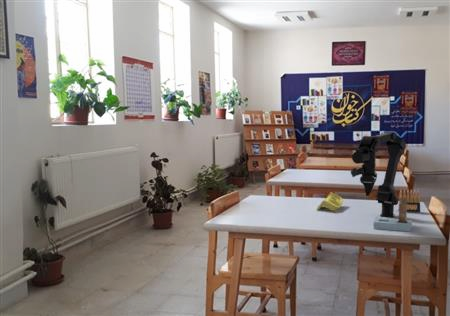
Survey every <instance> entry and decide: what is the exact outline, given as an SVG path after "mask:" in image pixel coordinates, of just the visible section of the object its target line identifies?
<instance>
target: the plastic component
mask: <svg viewBox="0 0 450 316" xmlns="http://www.w3.org/2000/svg"><path fill="white" fill-rule="evenodd" d="M343 202H344V199H343V197H342V196H340V195H338V194H336V193H334V192H332V191H331V192H329V194H327V196H326V197H325V198H324V200H322V201H321V202H320V204H319V205H318V206H317V208H316V211H320V209H321V208H322V207H324V208H325V209H328V210H330V211H331V212H334V213H336V212H338V211H339V209H340V208H341V206H342V204H343Z"/></svg>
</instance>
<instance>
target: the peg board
mask: <svg viewBox="0 0 450 316" xmlns="http://www.w3.org/2000/svg"><path fill="white" fill-rule="evenodd" d="M373 229H375V230H387V231H388V230H389V231H397V230H398V231H399V232H400V231H401V232H409V231H411V232H412V231H413V230H412V229H413V220H411V219H406V223H399V218H387V217H375V218H374V221H373ZM398 231H397V232H398Z"/></svg>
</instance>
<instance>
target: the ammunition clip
mask: <svg viewBox="0 0 450 316" xmlns="http://www.w3.org/2000/svg"><path fill="white" fill-rule="evenodd" d="M400 197H405V198H407V213H421V193H420V189H418V190H416V189H414V191H413V189H410V190H409V189H407V191H406V189H404V188H403V190H402V188H400V191H399V197H398V198H400ZM397 211H398V212H399V209H398V210H397Z"/></svg>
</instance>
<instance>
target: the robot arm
mask: <svg viewBox="0 0 450 316" xmlns="http://www.w3.org/2000/svg"><path fill="white" fill-rule="evenodd" d="M384 143H385V146H386V148H387V154H388V162H387V164H386V170H385V174H384V179H383V182H382V184H379V185H378V187H377V191H376V198H377V204H381V213H380V217H384V218H387V217H388V218H394V217H395V215H396V214H395V213H394V211H395V210H394V209H395V208H394V207H395V206H397V205H399V199H398V197H397V195H396V192H397V191H396V189H395V186H394V185H395V181H396V180H395V179H396V175H397V170H398V165H399V160H400V158H401V157H402V156H403V155H404V153H405V151H406V148H407V143H406V142H405V140H404V139H403V138H402V137H401V136H399V135H397V132H395V131H393V132H392V131H386V132H383V133H380V134H377V135H363V136H362V137H361V139H360V141H359V144H358V146H357V148H356V149H355V151H354V152H353V154H352V156H351V159H352V161H353V163H355V164H357V165H358V164H359V165H360V164H361V166H360V167H354V168H353V167H352V169H351V170H350V175H351V177H352V178H355V177H357V176H360V175H361V176H360V177H359V182H360V183H361V184H362V185H363V186H364V187H363V188H364V191H365V196H366V197H369V196H370V194H371V193H372V191H373V188H374V185H375V183H376V181H377V178H378V173H377V172H376V166H377V164H376V156H377V155H376V154H377V153H378V152H379V151H378V149H377V148H378V147H380V145H381V144H384Z"/></svg>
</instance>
